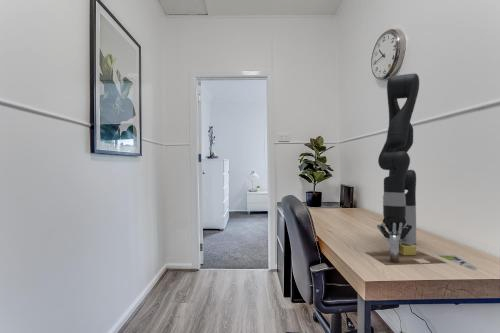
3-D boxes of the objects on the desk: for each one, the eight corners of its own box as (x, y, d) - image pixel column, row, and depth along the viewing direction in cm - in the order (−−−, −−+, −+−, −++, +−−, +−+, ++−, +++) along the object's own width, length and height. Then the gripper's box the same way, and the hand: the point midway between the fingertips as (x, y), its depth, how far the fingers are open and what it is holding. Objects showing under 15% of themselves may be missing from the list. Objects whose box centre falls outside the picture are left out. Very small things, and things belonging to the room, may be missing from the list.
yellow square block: (395, 251, 103) (395, 242, 103) (406, 250, 104) (406, 241, 104) (404, 255, 98) (403, 245, 98) (415, 254, 99) (415, 245, 99)
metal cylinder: (388, 260, 94) (387, 234, 94) (395, 260, 94) (395, 234, 94) (393, 263, 91) (392, 236, 91) (400, 262, 91) (400, 236, 91)
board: (364, 256, 103) (364, 252, 103) (418, 254, 105) (418, 250, 105) (385, 269, 89) (385, 265, 89) (447, 267, 91) (447, 262, 91)
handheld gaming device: (449, 266, 90) (429, 253, 105) (449, 269, 90) (429, 255, 105) (479, 268, 89) (455, 254, 103) (479, 270, 89) (455, 256, 103)
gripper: (404, 202, 105) (404, 246, 105) (372, 203, 104) (372, 247, 104) (417, 205, 98) (418, 252, 98) (383, 205, 97) (383, 253, 97)
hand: (394, 249), depth 101 cm, fingers closed
